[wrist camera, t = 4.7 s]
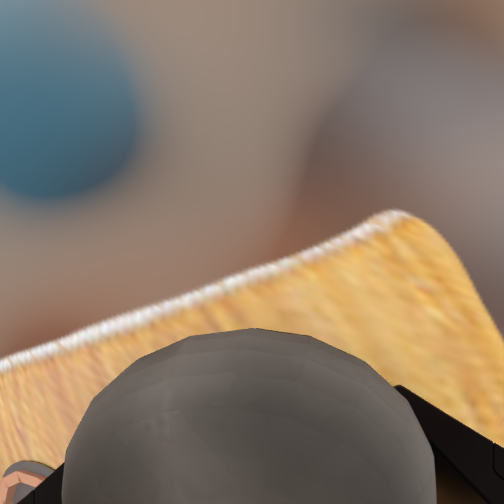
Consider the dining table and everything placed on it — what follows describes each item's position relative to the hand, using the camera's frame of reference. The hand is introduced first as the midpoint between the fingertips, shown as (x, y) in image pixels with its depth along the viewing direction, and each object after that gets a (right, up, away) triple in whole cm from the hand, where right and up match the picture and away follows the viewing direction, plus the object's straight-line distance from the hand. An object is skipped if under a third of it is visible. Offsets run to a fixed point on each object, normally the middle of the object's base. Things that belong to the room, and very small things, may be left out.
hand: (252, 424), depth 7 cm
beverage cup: (+1, -5, +8) cm, 10 cm away
